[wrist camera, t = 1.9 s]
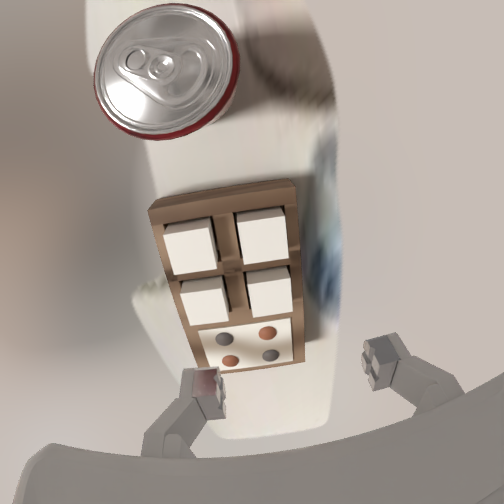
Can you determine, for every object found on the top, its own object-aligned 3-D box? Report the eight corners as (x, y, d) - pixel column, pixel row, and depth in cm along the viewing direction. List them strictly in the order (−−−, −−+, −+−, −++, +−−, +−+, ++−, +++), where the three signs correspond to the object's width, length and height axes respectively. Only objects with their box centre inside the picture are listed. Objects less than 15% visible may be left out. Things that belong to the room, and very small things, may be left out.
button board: (155, 199, 26) (146, 211, 23) (288, 178, 26) (296, 187, 23) (202, 357, 35) (201, 377, 32) (300, 344, 35) (305, 363, 32)
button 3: (245, 269, 27) (247, 284, 25) (285, 263, 27) (290, 277, 25) (251, 301, 28) (253, 317, 26) (288, 295, 28) (292, 311, 26)
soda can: (252, 69, 21) (270, 32, 10) (211, 142, 24) (193, 166, 13) (175, 37, 19) (133, -16, 8) (136, 109, 22) (67, 113, 11)
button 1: (183, 278, 27) (179, 293, 25) (221, 273, 27) (221, 288, 25) (192, 309, 28) (190, 325, 26) (228, 304, 28) (228, 321, 26)
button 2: (168, 223, 24) (162, 235, 22) (210, 216, 24) (208, 227, 22) (178, 260, 26) (174, 274, 24) (218, 254, 26) (217, 268, 24)
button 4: (236, 212, 24) (237, 222, 22) (279, 205, 24) (284, 215, 22) (242, 250, 26) (244, 264, 24) (283, 244, 26) (288, 258, 24)
